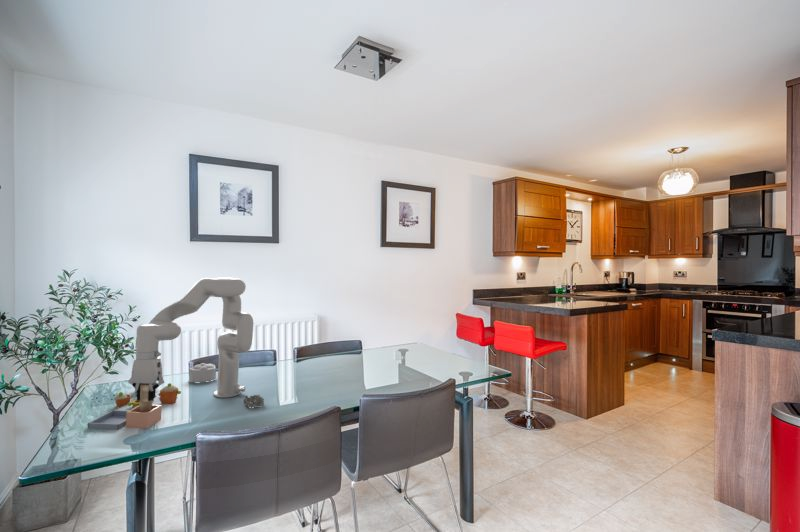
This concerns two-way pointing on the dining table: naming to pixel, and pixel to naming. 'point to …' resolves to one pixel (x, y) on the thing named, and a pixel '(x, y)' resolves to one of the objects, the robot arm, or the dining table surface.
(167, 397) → the toy tea set
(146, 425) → the salmon pink open bin
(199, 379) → the lumpy-topped squat cylinder
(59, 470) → the dining table surface
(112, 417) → the tray
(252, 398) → the dark mottled rough lump
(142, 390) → the dowel
